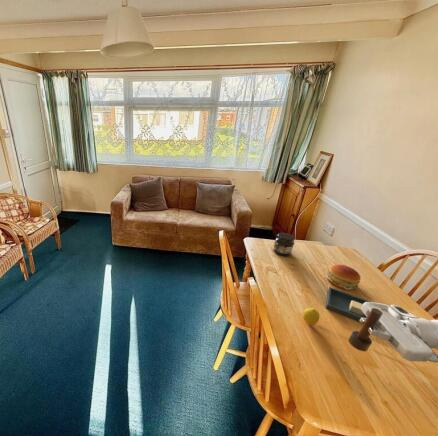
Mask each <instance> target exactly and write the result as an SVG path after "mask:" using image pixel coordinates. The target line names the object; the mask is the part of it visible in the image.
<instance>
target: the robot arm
mask: <svg viewBox="0 0 438 436" xmlns="http://www.w3.org/2000/svg"><path fill="white" fill-rule="evenodd" d="M372 308H376V309H378V310H380V311H381V312H382V313H383V314H382V316H381V318H380V319H379V321H378V322H377V324H376V326H375V327H376V328H377V329H376V328H369V329H368V332H369V333H370V336H375V337H378V338H380V339H382V340H384V341H387V342H388V343H389V344H390V345H391V347H392V348H393V349H394V350H395V351H396V352H397V353H398V354H399V356H400V357H401V358H402V359H404V360H406V361H409V362H431V363H438V354H437V352H435V351H434V350H437V351H438V319H427V318H422V317H419V316H416V315H415V314H413V313H411V312H409V311H407V310H405V309H404V308H402V306H401V307H400V306H399V305H397V304H390V305H388V304H386V303H382V302H374V301H370V302H365V303H364V304H363V305H362V307H361V311H362V312H363V313H364V314H365V315H366V316H367V317H368V315H369V313H370V311H371V310H372ZM365 320H366V318H361V319H360V320H359V321H360V322H361V323H360V322H359V323H360V324H361V325H363V324H364V322H365ZM433 349H434V350H433Z"/></svg>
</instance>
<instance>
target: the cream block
mask: <svg viewBox="0 0 438 436" xmlns="http://www.w3.org/2000/svg"><path fill="white" fill-rule="evenodd" d="M362 305H363V304H361V303H358V302H356V301H353V300H352V301H351V303H350V305H349V311H351V312H354V313H356V314H359V315H362V316H363V314H364V313H363V312H362V311H361V307H362Z"/></svg>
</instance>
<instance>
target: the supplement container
mask: <svg viewBox="0 0 438 436" xmlns="http://www.w3.org/2000/svg"><path fill="white" fill-rule="evenodd" d="M295 240H296V237H295V236H294V235H292V234H291V233H288V232H279V233H278V234H277V235H276V237H275V240H274V243H273V248H272V251H273V252H274V253H275V254H276V253H277V255H278V254H279V256H281V255H282V256H281V257H289V256H291V255H292V253H293V252H292V251H293V249H294V246H295Z"/></svg>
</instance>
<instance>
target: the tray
mask: <svg viewBox="0 0 438 436" xmlns="http://www.w3.org/2000/svg"><path fill="white" fill-rule="evenodd" d="M326 294H327V295H326V301H325V310H328V311H330V312H333V313H337V314H338V315H340V316H344V317H345V318H348V319H351V320H353V321H356V322H358V323H360V324H362V323H361V322H360V321H359V320H360V319H361V318H367V316H366V315H365V314H363V316H362V315H359V314H356V313H354V312H351V311H349V305H350V303H351V301H352V300H353V301H356V302H358V303H361V304H364V303H365V302H371V301H370V300H368V299H365V298H361V297H359V296H356V295H353V294H351V293H347V292H344V291H341V290H339V289H336V288H333V287H330V286H329V287H328V289H327V293H326ZM374 328H376V327H374ZM376 329H377V328H376ZM377 330H378V329H377Z"/></svg>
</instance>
